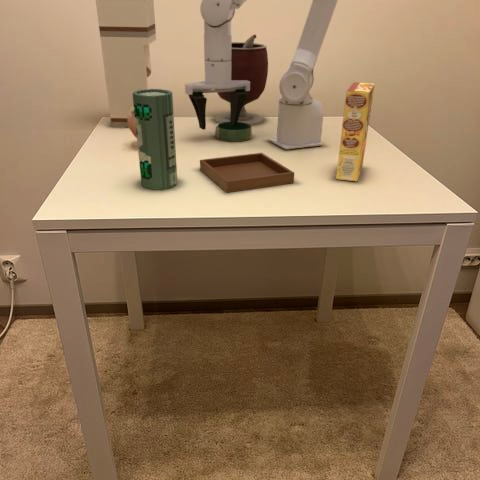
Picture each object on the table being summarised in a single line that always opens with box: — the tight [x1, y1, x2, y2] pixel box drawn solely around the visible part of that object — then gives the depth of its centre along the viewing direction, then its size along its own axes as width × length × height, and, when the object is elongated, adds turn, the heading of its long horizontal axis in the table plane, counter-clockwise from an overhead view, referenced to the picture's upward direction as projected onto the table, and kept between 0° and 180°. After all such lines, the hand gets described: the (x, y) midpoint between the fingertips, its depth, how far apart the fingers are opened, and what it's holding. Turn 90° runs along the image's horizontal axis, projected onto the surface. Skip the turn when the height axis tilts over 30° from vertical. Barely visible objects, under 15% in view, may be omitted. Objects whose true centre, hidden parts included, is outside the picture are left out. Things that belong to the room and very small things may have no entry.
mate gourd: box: [215, 34, 269, 126], centre depth 122 cm, size 16×14×20 cm
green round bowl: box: [215, 122, 253, 143], centre depth 114 cm, size 8×8×2 cm
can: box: [132, 88, 178, 191], centre depth 84 cm, size 6×6×15 cm
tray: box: [199, 152, 295, 193], centre depth 92 cm, size 13×13×2 cm
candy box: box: [335, 81, 376, 182], centre depth 90 cm, size 9×4×15 cm, turn 162°
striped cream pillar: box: [95, 0, 157, 128], centre depth 115 cm, size 11×11×35 cm
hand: (218, 126), depth 112 cm, fingers open, 7 cm apart
